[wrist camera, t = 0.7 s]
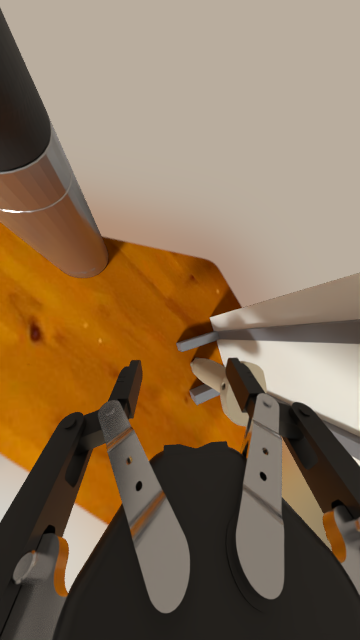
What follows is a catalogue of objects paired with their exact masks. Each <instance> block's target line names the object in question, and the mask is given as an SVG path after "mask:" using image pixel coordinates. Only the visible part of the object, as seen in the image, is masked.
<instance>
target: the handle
mask: <svg viewBox="0 0 360 640" xmlns="http://www.w3.org/2000/svg"><path fill="white" fill-rule="evenodd" d="M240 363H244V364H245V365H246V366H247V367H249V369H250V370H251V372H252V373H253V375H254V377H255V378H256V380H257V381H258V383H259V384H260V386H261V387H262V389H263V390H264V392H265V393H266V389H267V387H266V381H265V376H264V372H263V370H262V369H261V368H260V367H259V366H258V365H256V364H253V363H250V362H245V361H240ZM190 366H191V367H192V372H193V373H194V374H195V375H196V376H197V378H198V379H199V380H201V381H202V382H203V383H205V384H206V385H208V386H210V387H211V388H213V389H215V390H216V391H218V392H219V393H220V397H221V403H222V408H223V411H224V413H225V414H226V415H227V416H228V417H229V418H230V419H231V420H232V421H233V422H234V423H235V424H237V425H241V426H247V421H248V417H249V416H248V413H242V412H241V409H240V407H239V405H238V402H237V400H236V398H235V396H234V393H233V391H232V389H231V386H230V384H229V382H228V379H227V377H226V374H225V369H226V367H224V366H222V365H220V364H218V363H216V362H214V361H212V360H209V359H205V358H195V359H194V361H193V362H191V364H190Z"/></svg>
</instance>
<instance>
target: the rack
mask: <svg viewBox="0 0 360 640" xmlns="http://www.w3.org/2000/svg"><path fill="white" fill-rule="evenodd" d="M210 320H211V324H212V327H213V332H210V333H206V334H203V335H200V336H197V337H194V338H190V339H187V340H184V341H181V342H178V343H176V344H177V347H178V350H179V351H181V352H183V351H186V350H189V349H192V348H195V347H198V346H201V345H204V344H207V343H210V342H213V341H217V344H218V348H219V351H220V354H221V358H222V361H223V365H224V367H226V365H227V360H228V358H238V359H239V361H245V362H250V363H253V364H256V365H258V366H259V367H260V368H261V369H262V370H263V372H264V376H265V381H266V387H267V389H266V394H268V395H270V396H271V397H273V398H274V399H275V400H276V401H277V402H279V403H282V404H286V405H290V406H291V405H292V404H293V403H294V402H301V403H303V404H305V405H307V406H309V407H310V408H311V409H312V410H313V411H314V412H315V413H316V414H317V415H318V417H319V418H320V419H321V420H322V421H323V423H324V424H325V425H326V426H327V427H328V429H329V430H330V431H331V432H332V433H333V435H334V436H335V437H336V438H337V439H338V441H339V442H340V443H341V444H342V445H343V447H344V448H345V449H346V450H347V451H348V453H349V454H350V455H351V456H352V457H353V459H354V460H355V461H356V462H357V464H358V465H359V466H360V273H357V274H354V275H350V276H347V277H344V278H340V279H337V280H334V281H330V282H327V283H324V284H320V285H317V286H313V287H310V288H307V289H304V290H300V291H297V292H293V293H290V294H287V295H283V296H280V297H277V298H273V299H270V300H267V301H263V302H260V303H257V304H253V305H250V306H247V307H243V308H240V309H237V310H233V311H230V312H227V313H223V314H220V315H217V316H213V317H210ZM190 394H191V398H192V399H193V400H194V402H195V403H196V404H197V405H198V404H200V403H202V402H204V401H207V400H209V399H211V398H213V397H215V396H218V395H220V393H219V392H218V391H216V390H215V389H213V388H211V387H210V386H208V385H206V384H203V385H201V386H198V387H196V388H194V389H191V390H190Z"/></svg>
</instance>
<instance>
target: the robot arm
mask: <svg viewBox="0 0 360 640" xmlns="http://www.w3.org/2000/svg"><path fill="white" fill-rule="evenodd" d="M0 222H1V223H2V224H3V225H5V226H6V227H7V228H9V229H10V230H11V231H12V232H14V233H15V234H16V235H17V236H19V237H20V238H21V239H22V240H24V241H25V242H26V243H28V244H29V245H30V246H31V247H33V248H34V249H35V250H36V251H38V252H39V253H40V254H41V255H43V256H44V257H45V258H46V259H48V260H49V261H50V262H51V263H53V264H54V265H55V266H57V267H58V268H59V269H61V270H62V271H63V272H64V273H66V274H68V275H70V276H73V277H77V278H88V277H92V276H95V275H97V274H99V273H100V272H101V271H103V269H104V268H105V267H106V265H107V263H108V251H107V248H106V246H105V244H104V241H103V239H102V237H101V234H100V232H99V230H98V227H97V225H96V223H95V221H94V218H93V216H92V214H91V211H90V209H89V207H88V205H87V202H86V200H85V198H84V195H83V193H82V191H81V189H80V186H79V184H78V182H77V180H76V177H75V175H74V173H73V171H72V168H71V166H70V164H69V162H68V159H67V157H66V155H65V153H64V151H63V148H62V146H61V144H60V141H59V139H58V137H57V134H56V132H55V130H54V128H53V125H52V123H51V121H50V119H49V116H48V114H47V111H46V109H45V107H44V105H43V102H42V100H41V98H40V96H39V94H38V91H37V89H36V87H35V85H34V82H33V80H32V78H31V76H30V74H29V72H28V69H27V67H26V65H25V62H24V60H23V58H22V56H21V54H20V51H19V49H18V47H17V45H16V43H15V40H14V38H13V36H12V33H11V31H10V29H9V27H8V24H7V22H6V20H5V18H4V15H3V13H2V11H1V9H0ZM225 374H226V377H227V379H228V382H229V384H230V386H231V389H232V391H233V393H234V396H235V398H236V400H237V402H238V405H239V407H240V409H241V412H242V413H248V416H249V417H248V421H247V426H246V431H245V435H244V440H243V444H242V447H241V451H240V453H239V452H238V451H236V450H235V449H233V448H230V447H228V445H227V442H226V441H224V442H211V443H209V444H206V445H204V446H202V447H199V448H196V449H195V448H191V447H188V446H184V445H180V444H177V445H164V451H162V452H160V453H158V454H156V455H155V456H154V457H153V458H152V459H151V460H150V461H148V459H147V457H146V455H145V453H144V450H143V448H142V446H141V444H140V442H139V440H138V438H137V436H136V434H135V431H134V430H133V428H132V427H131V425H130V423H129V421H128V420H129V418H133V417H134V412H135V408H136V404H137V399H138V395H139V390H140V386H141V382H142V366H141V361H140V360H132V361H131V362H130V365H129V367H124V368H123V369H122V370H121V372H120V374H119V376H118V379H117V382H116V384H115V386H114V388H113V391H112V393H111V395H110V398H109V400H108V402H106V403H105V404H104V405H103V406H102V407H101V408H100V409H99V410H97V411H95V412H92V413H89V414H86V415H84V416H83V414H82V413H80V412H75V413H72V414H70V415H68V416H66V417H65V418H64V419H63V420H62V421H61V422H60V423H59V425H58V426H57V428H56V430H55V431H54V433H53V435H52V436H51V438H50V440H49V441H48V443H47V445H46V446H45V448H44V450H43V451H42V453H41V455H40V456H39V458H38V460H37V462H36V463H35V465H34V467H33V468H32V470H31V472H30V473H29V475H28V477H27V479H26V480H25V482H24V483H23V485H22V487H21V489H20V490H19V492H18V494H17V495H16V497H15V499H14V500H13V502H12V504H11V505H10V507H9V509H8V511H7V512H6V514H5V515H4V517H3V519H2V520H1V522H0V640H360V466H359V465H358V464H357V462H356V461H355V460H354V459H353V457H352V456H351V455H350V454H349V453H348V451H347V450H346V449H345V448H344V447H343V445H342V444H341V443H340V442H339V441H338V439H337V438H336V437H335V436H334V435H333V433H332V432H331V431H330V430H329V429H328V427H327V426H326V425H325V424H324V423H323V421H322V420H321V419H320V418H319V417H318V415H317V414H316V413H315V412H314V411H313V410H312V409H311V408H310V407H309V406H307V405H305V404H303V403H301V402H294V403H293V404H292V405H291V406H290V405H286V404H282V403H279V402H277V401H276V400H275V399H274V398H273V397H271V396H270V395H268V394H266V393H265V392H264V390H263V389H262V387H261V386H260V384H259V383H258V381H257V380H256V378H255V377H254V375H253V373H252V372H251V370H250V369H249V367H247V366H246V365H245V364H244V363H240V361H239V359H238V358H228V360H227V365H226V369H225ZM279 435H280V436H279ZM281 436H282V438H283V440H284V442H285V443H286V445H287V447H288V449H289V451H290V453H291V454H292V456H293V458H294V460H295V462H296V464H297V466H298V467H299V469H300V471H301V473H302V475H303V477H304V478H305V480H306V482H307V484H308V486H309V487H310V489H311V491H312V493H313V495H314V497H315V499H316V500H317V502H318V504H319V506H320V508H321V509H322V512H323V513H324V515H323V525H324V528H325V531H326V536H327V539H328V541H329V543H330V544H331V547H332V551H331V550H330V549H329V548H328V547H327V546H326V545H325V543H323V541H322V540H321V539H320V538H319V537H318V536H317V535H316V534H315V533H314V531H313V530H312V529H311V528H310V527H309V526H308V525H307V524H306V523H305V522H304V521H303V520H302V518H301V517H300V516H299V515H298V514H297V513H296V512H295V511H294V510H293V509H292V507H291V506H290V505H289V504H288V503H287V502H286V501H285V500H284V499H283V498H282V438H281ZM104 443H106V445H107V452H108V455H109V459H110V462H111V465H112V469H113V472H114V476H115V479H116V482H117V486H118V489H119V493H120V496H121V500H122V505H121V506H120V508H119V509H118V511H117V513H116V514H115V516H114V517H113V519H112V521H111V522H110V524H109V525H108V527H107V529H106V530H105V532H104V533H103V535H102V537H101V538H100V540H99V542H98V543H97V545H96V546H95V548H94V550H93V551H92V553H91V554H90V556H89V558H88V560H87V561H86V563H85V564H84V566H83V567H82V569H81V571H80V572H79V574H78V575H77V577H76V579H75V581H74V583H73V585H72V586H71V589H70V591H69V593H68V592H67V591H66V588H65V581H64V579H65V578H64V577H65V569H66V564H67V560H68V554H69V547H68V543H67V541H66V540H65V539H64V538H62V536H63V534H64V530H65V528H66V525H67V522H68V519H69V516H70V513H71V510H72V508H73V505H74V502H75V499H76V496H77V493H78V490H79V488H80V485H81V482H82V479H83V476H84V473H85V470H86V467H87V465H88V462H89V459H90V456H91V453H92V450H93V448H95V447H97V446H100V445H102V444H104Z"/></svg>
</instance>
